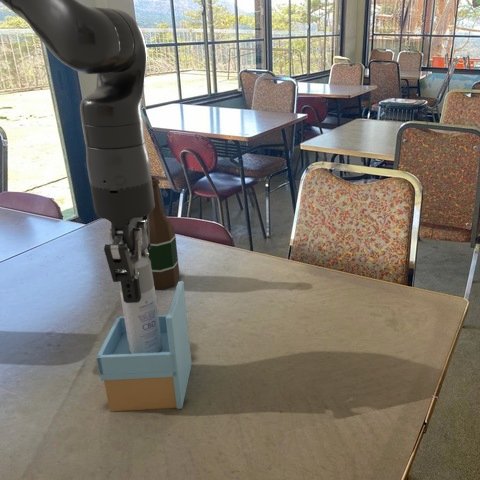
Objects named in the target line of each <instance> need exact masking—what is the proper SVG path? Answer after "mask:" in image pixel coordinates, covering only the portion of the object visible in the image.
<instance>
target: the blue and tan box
mask: <svg viewBox="0 0 480 480" xmlns="http://www.w3.org/2000/svg"><path fill="white" fill-rule="evenodd" d="M186 302H187V301H186V293H185V283H184V281H183V280H181V281H180V280H178V282H177V283H176V287H175V291H174V293H173V296H172V299H171V302H170V305H169V308H168V311H167V314H158V318H159V326H160V334H161V342H162V350H161V352H159V353H137V354H130V350H129V344H128V338H127V332H126V326H125V319H124V315H121V316H120V315H119V316H117V317H116V318H115V320H114V322H113V324H112V326H111V328H110V330H109V332H108V333H107V336H106V338H105V340H104V342H103V343H102V345H101V347H100V350H99V352H98V354H97V356H96V358H95V359H96V363H97V369H98V373H99V378H100V381H103V383H104V388H105V393H106V398H107V403H108V408H109V412H128V411H144V410H160V409H161V410H162V409H176V410H182V409H183V407H184V402H185V397H186V393H187V389H188V383H189V380H190V374H191V370H192V363H193V362H192V353H191V343H190V342H191V341H190V335H189V323H188V314H187V303H186Z"/></svg>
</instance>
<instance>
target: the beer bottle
mask: <svg viewBox="0 0 480 480" xmlns="http://www.w3.org/2000/svg"><path fill="white" fill-rule="evenodd" d="M151 177H152V185H153V194H154V202H155V208H154V210H153V211H152V212H151V213H149V229H150V244H151V247H150V250H148V253H149V256H148V258H149V259H150V262H151V268H152V275H153V281H154V287H155V290H157V291H158V290H160V291H163V290H167V289H170V288H173V287H175V286H176V285H177V284H178V281H180V266H179V257H178V246H177V236H176V231H175V227H174V225H173V223H172V221H171V220H170V219H169V217H168V216H167V215H166V213H165V210H164V207H163V203H162V196H161V191H160V185H159V184H161V183H160V182H161V181H160V179H159V178H157V177H155V176H151Z"/></svg>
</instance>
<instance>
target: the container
mask: <svg viewBox="0 0 480 480" xmlns="http://www.w3.org/2000/svg"><path fill="white" fill-rule="evenodd" d="M131 264H132V263H131ZM123 271H126V270H125V269H123ZM138 273H139V276H138V278H139V285H140V292H141V299H140V301H139V302H138V303H126V302H124V299H123V293H122V287H121V282H118V286H119V293H120V301H121V306H122V312H123V316H124V319H125V326H126V332H127V338H128V344H129V350H130V354H137V353H159V352H161V350H162V342H161V334H160V326H159V318H158V315H159V311H158V310H159V309H158V302H157V296H156V294H157V293H156V289H155V287H154V281H153V275H152V268H151V262H150V259H149V258H148V257H146V256H141V260H140V261H139V262H138Z"/></svg>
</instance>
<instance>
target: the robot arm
mask: <svg viewBox="0 0 480 480" xmlns="http://www.w3.org/2000/svg"><path fill="white" fill-rule="evenodd" d="M0 3H1V4H2V5H4V6H5V7H7V8H8V9H9V10H10V11H12V12H13V13H15V14H16V16H18V17H19V18H21V19H22V20H24V21H25V22H26V23H27V24H28V26H29V27H30V28H31V30H32V31H33V32H34V34H35V35H36V36H37V37H38V38H39V40H40V41H41V42H42V43H43V44H44V46H45V47H46V48H47V50H48V51H49V52H50V53H51V55H53V56H54V57H55V58H56V59H57V60H58V61H59V62H61V63H62V64H63V65H65V66H67V67H69V68H70V69H72V70H74V71H76V72H78V73H82V74H85V75H96V83H95V88H94V90H93V91H92V92H90V94H88V95H86V96H85V97H84V98H82V99H81V101H80V103H79V113H80V120H81V127H82V132H83V133H82V134H83V136H84V137H83V139H84V144H85V154H86V155H85V158H86V160H85V161H86V168H87V175H88V181H89V186H90V192H91V198H92V204H93V210H94V213H95V215H96V216H97V217H98V218H100V219H104V220H106V221H109V222H110V223H111V224H110V225H111V226H110V228H109V233H108V235H109V241H110V242H111V243H105V244H104V247H103V251H104V255H105V258H106V261H107V266H108V268H109V272H110V275H111V279H112V282H113V283H119V282H121V287H122V293H123V299H124V302H126V303H138V302H139V301H140V299H141V292H140V285H139V278H138V276H139V273H138V262H139V261H140V260H141V256H146V257H148V256H149V253H148V250H150V247H151V244H150V229H149V213H151V212H152V211H153V210H154V208H155V202H154V194H153V185H152V177H153V176H152V169H151V162H150V156H149V152H148V149H147V144H146V137H145V129H144V121H143V113H142V104H143V98H144V92H145V84H146V75H147V65H148V64H147V63H148V61H147V60H148V53H147V45H146V40H145V36H144V34H143V32H142V31H143V30H142V29H141V27H140V25H139V24H138V22H137V21H136V19H135V18H134V17H133V16H131V15H130V14H129V13H127V12H126V11H124V10H122V9H118V8H111V7H110V8H108V7H95V6H87V5H85V4H83V3H81V2H79V1H77V0H0ZM131 263H132V264H131ZM123 269H125V270H126V271H123Z"/></svg>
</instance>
